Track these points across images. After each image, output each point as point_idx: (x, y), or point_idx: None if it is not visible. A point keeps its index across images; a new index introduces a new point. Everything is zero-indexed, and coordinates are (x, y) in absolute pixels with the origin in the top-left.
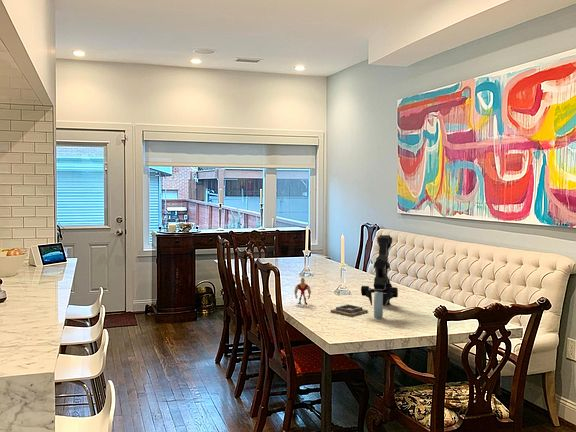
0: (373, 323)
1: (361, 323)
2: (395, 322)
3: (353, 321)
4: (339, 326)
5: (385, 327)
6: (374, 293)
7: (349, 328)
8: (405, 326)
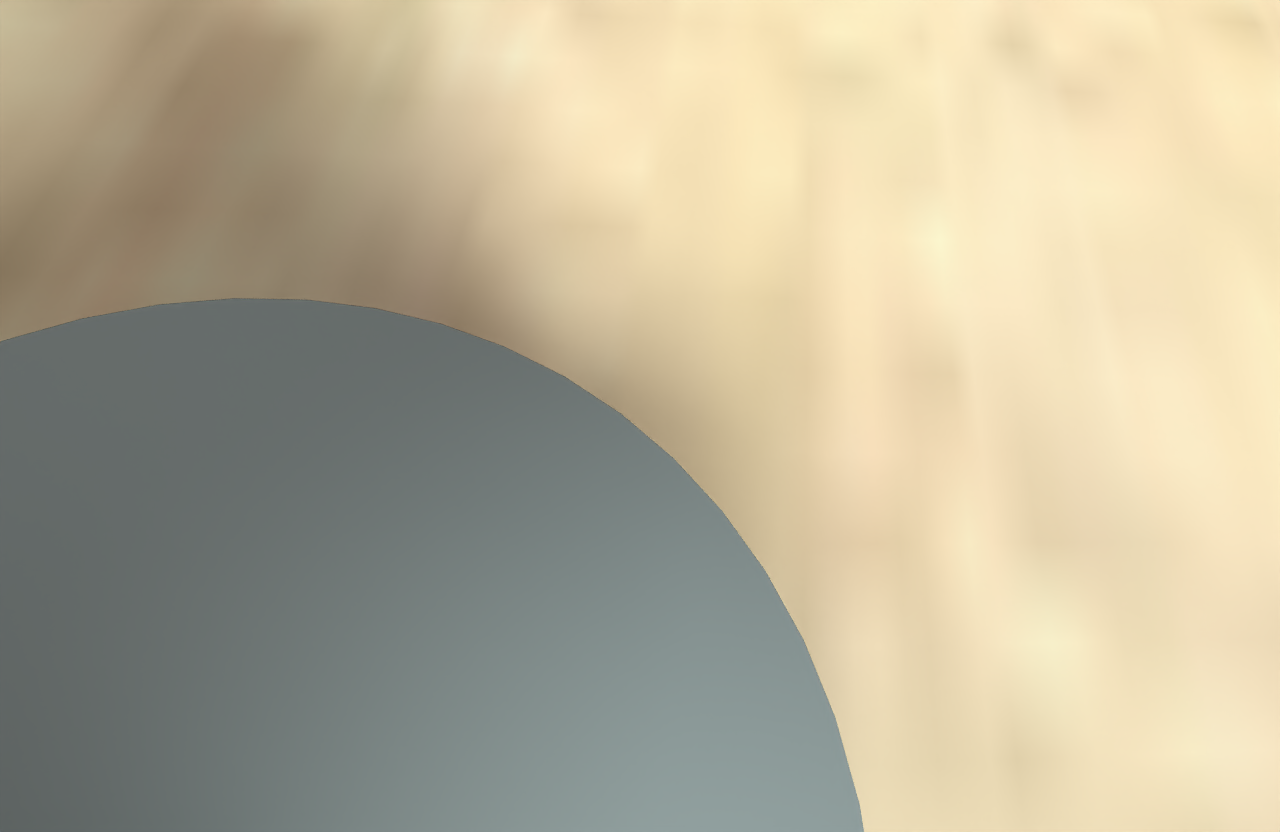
0: (682, 278)
1: (923, 286)
2: None
3: (1103, 435)
4: (1259, 136)
5: (497, 43)
6: (806, 774)
7: (1082, 39)
8: (83, 68)
